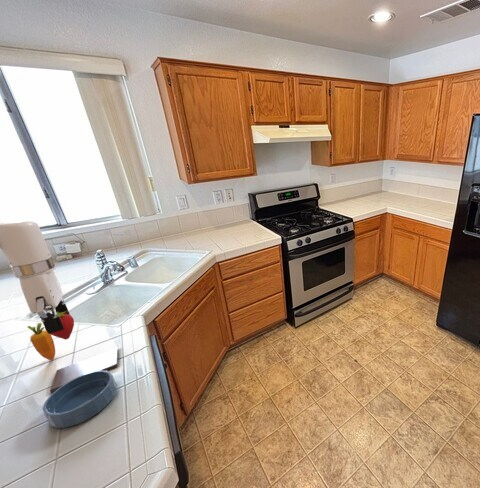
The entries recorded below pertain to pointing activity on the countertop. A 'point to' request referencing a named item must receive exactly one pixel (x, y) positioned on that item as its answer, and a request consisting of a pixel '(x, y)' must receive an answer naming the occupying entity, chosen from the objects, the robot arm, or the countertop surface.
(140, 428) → the countertop surface
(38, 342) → the carrot
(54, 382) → the board
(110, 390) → the basin
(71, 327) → the strawberry
